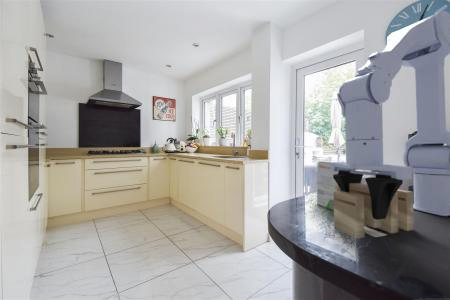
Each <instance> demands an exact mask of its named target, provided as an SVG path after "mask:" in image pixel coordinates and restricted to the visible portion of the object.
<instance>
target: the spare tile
mask: <svg viewBox="0 0 450 300" xmlns="http://www.w3.org/2000/svg"><path fill="white" fill-rule="evenodd" d="M349 193H352V194H356V195H361V196H364V226H366V227H369V228H370V227H371V228H372V229H376V228H377V229H378V227H381V219H379V220H376V219H373V216H372V206H371V196H370V192H369V188H368V185H367V183H364V184H360V183H349Z"/></svg>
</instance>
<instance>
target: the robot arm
mask: <svg viewBox="0 0 450 300" xmlns="http://www.w3.org/2000/svg"><path fill="white" fill-rule="evenodd" d="M386 44H387V45H386V46H385V48H384V49H383V51H377V52H374V53H371V54H370V55H369V56H368V57H367V59H368V61H367V62H366V63H365V64H364V65H363V66H362V67H361V68H359V69H358V70H357V72H356V75H354V77H353V78H350V79H347V80H345V81H344V82H343V83H342V85H340V87H339V90H338V93H337V94H336V95H337V100H338V103H339V105H340V107H341V115H342V117H343V118H345V119H344V120H345V121H344V123H345V126H344V127H345V162H341V161H340V162H339V161H330V162H331V163H330V171H334V172H336V171H338V172H339V173H338V174H334V175H333V178H334V180H335V181H336V183H337V184H338V186H339V188H340V190H341V191H343V192H348V193H349V183H361V180H362V177H364V175H365V176H371V177H365V184H366V185H368V188H369V192H370V196H371V206H372V216H373V219H376V220H379V219H386V216H387V212H388V209H389V206H390V203H391V201H392V199H393V197H394V195H395V193H396V192H397V190H398V189H399V190H400V188H401V186H402V185H403V182H404V181H405V180H413V210H415V211H420V212H424V213H429V214H433V215H436V216H441V217H448V216H450V131H448V130H447V120H446V119H447V117H446V97H445V96H446V93H445V92H446V89H445V62H446V61H445V59H446V57H447V56H449V55H450V13H449V12H448V11H445V10H442V9H441V10H439V11H437V12H436V13H435V14H432V15H430V16H428V17H426V18H425V17H424V18H423V19H421V20H418V21H416V22H414V23H413V24H410V25H408V26H405V27H404V28H402V29H401V28H400V29H399V30H397V31H396V30H395V31H394V32H391V33H390V34H389V35H388V36H387V38H386ZM402 66H403V67H407V68H408V67H410V68H413V69H414V72H415V73H414V74H415V102H416V104H415V106H416V129H417V130H416V132H417V133H416V134H415V135H413V136H412V137H410V138H408V139H407V140H406V141H405V148H404V151H403V156H402V158H403V159H402V160H403V164H404V165H397V164H396V165H394V164H385V163H384V135H383V134H384V133H383V130H384V128H383V103H385V102H387V101H388V100H389V98H390V94H391V87H392V86H393V85H392V83H393V80H394V78H396V76H397V74H398V73H399V72H400V70H401V68H402ZM429 144H430V145H429ZM431 144H440V145H431ZM441 144H444V145H441ZM354 170H355V171H354ZM372 176H374V177H372Z"/></svg>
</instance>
